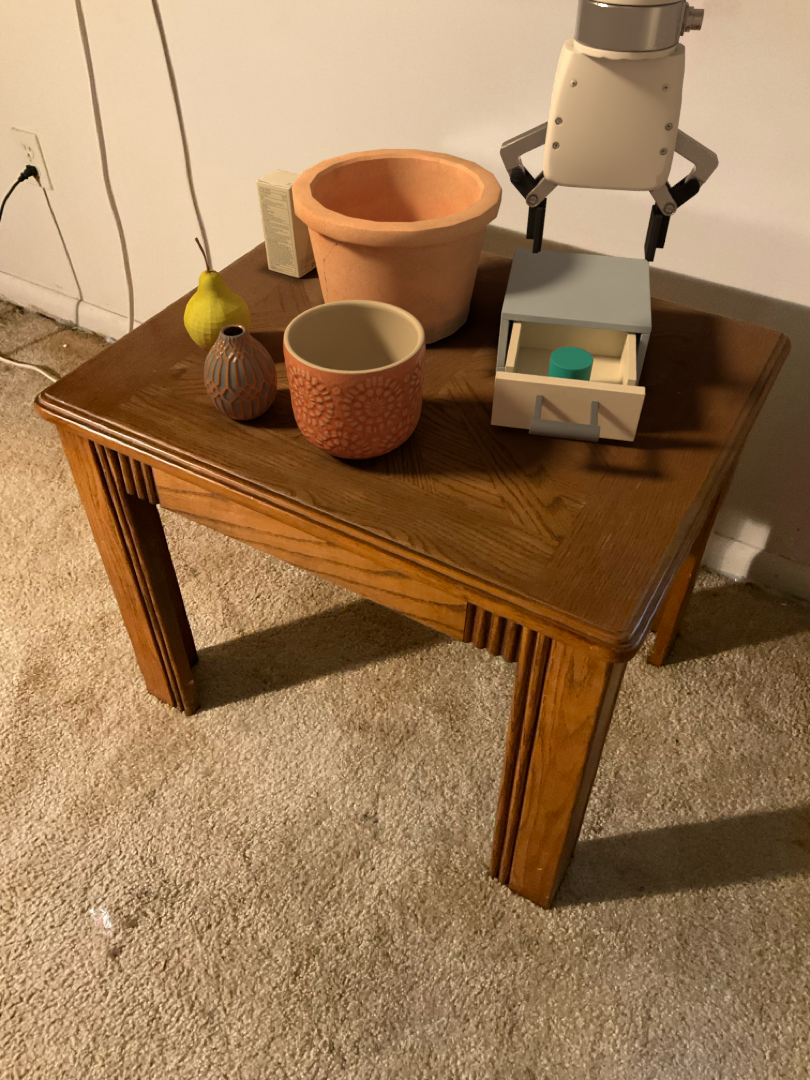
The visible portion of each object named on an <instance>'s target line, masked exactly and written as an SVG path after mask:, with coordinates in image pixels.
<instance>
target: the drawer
mask: <svg viewBox="0 0 810 1080" xmlns="http://www.w3.org/2000/svg"><path fill="white" fill-rule="evenodd" d="M562 347H576V348H581V349H583V350H586V351H587V352H589V353H590V354H591V355H592V357H593V366H592V371H591V376H590V381H584V380H574V379H565V378H556V377H548V372H549V365H550V358H551V354H552V353H553V351H555V350H556V349H558V348H562ZM636 381H637V374H636V332H626V331H616V330H606V329H596V328H586V327H576V326H566V325H556V324H546V323H536V322H526V321H516V320H514V324H513V330H512V335H511V340H510V345H509V350H508V356H507V361H506V366H505V372H501V371H497V372H496V371H495V377H494V385H493V398H492V407H491V419H490V425H491V426H497V427H499V426H500V427H506V428H507V427H508V428H516V429H522V430H523V429H524V430H529V431H528V434H529V435H535V436H543V437H550V438H560V439H569V440H576V441H585V442H593V443H598V442H599V440H600V438H601V439H608V440H618V441H626V442H634V441H635V437H636V433H637V430H638V425H639V421H640V419H641V418H640V417H641V413H642V409H643V405H644V403H645V402H644V401H645V397H646V387H645V386H639V385H638V386H635V385H636Z"/></svg>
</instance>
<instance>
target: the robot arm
mask: <svg viewBox="0 0 810 1080" xmlns="http://www.w3.org/2000/svg"><path fill="white" fill-rule="evenodd" d="M704 16H705V8H695V6H692V5H690V3H689V1H687V0H578V1H577V10H576V17H575V27H574V36H573V37H570V38H567V39H566V40H565V41H563V45H562V48H561V51H560V53H559V54H560V55H559V58H558V62H557V65H556V70H555V74H554V75H555V76H554V79H553V80H554V81H553V85H552V91H551V98H550V105H549V110H548V115H547V116H548V117H547V121H545V122H543V123H541V124H539V125H536V126H535V127H533V128H531V129H528V130H526V131H524V132H522V133H520V134H518V135H515V136H514V137H511V138H510V139H507V140H505V141H504V142H502V143H501V146H500V148H499V149H500V150H499V156H500V159H501V160H502V163H503V165H504V168H505V170H506V172H507V174H508V176H509V181H510V184H512V185H513V187H514V188H515V189H516V190H517V192H518V193H519V194H520V195H521V196H522V198H523V199H524V200H525V203H526V205H527V206H528V210H527V211H528V213H527V223H526V234H525V240H532V241H533V242H532V249H533V250H532V253H537V254H538V252H541V250H542V244H543V239H544V231H545V230H544V228H545V222H546V221H545V220H546V213H547V204H548V203H547V202H548V196H549V195H550V194H551V193H552V192H553V191H554V190H555V189H556V188H557V187H558V186H559V187H566V188H579V189H593V190H607V191H608V190H609V191H610V190H611V191H628V192H648V193H649V194H650V196H651V197H652V199H653V201H654V204H652V205H651V210H650V214H649V220H648V225H647V230H646V234H645V238H644V239H645V240H644V245H643V251H644V254H643V255H644V259H645V260H647V262H649V263H654V261H655V257H656V252H657V249H661V250H662V249H664V247H665V244H666V240H667V235H668V230H669V225H670V222H671V217H672V216H673V215H675V214H676V212H677V210H678V209H679V208H680V207H682V206H683V205H684V204H685V203H687V202H688V201H689V200H691V199H692V198H694V196H696V195H698V193H699V192H700V190H701V188H702V186H703V185H705V183H706V182H707V181H708V180H709V178H710V177H711V176H712V174H713V173H714V172H715V171H716V170H717V168H718V167H719V163H720V162H719V157H718V155H717V152H715V151H713V150H712V149H710V148H709V147H707V146H705V145H704V144H703V143H701V142H700V141H698V140H697V139H695V138H693V136H690V135H689V134H687V133H686V132H684V131H683V130H681V129H680V128H679V126H680V125H679V123H680V117H681V109H682V103H683V88H684V79H685V71H686V46H685V45H684V44H683V43H681V42H680V37H684V35H685V33H690V32H691V31H701V29H702V26H703V23H704ZM542 146H543V148H544V149H543V162H542V163H543V164H542V167H543V168H542V170H541V171H540V172H539V174H537V175H536V176H535V177H534V176H533V175H532V174H531V172H530V171H529V170H528V168H526V167H525V166H524V163H523V162H522V161H523V160H522V157H521V156H523V155H525V154H526V153H529V152H531V151H532V150H535V149H537V148H539V147H542ZM675 153H677V154H678V155H679V156H681V157H683V158H684V159H685V160H687V161H689V162H690V163H691V164H693V165H694V166H693V168H692V169H691V170H690V172H689V173H688V174H686V175H685V176H684V177H683V178H682V179H681V180H679V181H678V182H676V183H675V184H674V185H673V186H672V185H671V184H670V182H669V178H670V174H671V170H672V166H673V161H674V156H675Z"/></svg>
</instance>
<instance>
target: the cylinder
mask: <svg viewBox="0 0 810 1080" xmlns="http://www.w3.org/2000/svg"><path fill="white" fill-rule="evenodd" d="M592 366H593V357H592V355H591V354H590V353H589V352H587V351H586V350H583V349H581V348H576V347H562V348H558V349H556V350H555V351H553V353H552V354H551V358H550V365H549V372H548V377H556V378H565V379H574V380H584V381H590V376H591V371H592Z"/></svg>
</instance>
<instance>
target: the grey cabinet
mask: <svg viewBox="0 0 810 1080" xmlns="http://www.w3.org/2000/svg"><path fill="white" fill-rule="evenodd" d="M532 250H533V248H522V247H515V249H514V252H513V257H512V262H511V267H510V271H509V277H508V281H507V286H506V290H505V295H504V300H503V303H502V309H501V313H500V314H501V315H500V326H499V334H498V335H499V336H498V345H497V356H496V366H495V373H496V372H497V371H501V372H505V366H506V361H507V356H508V350H509V345H510V340H511V335H512V330H513V324H514V320H516V321H526V322H536V323H546V324H556V325H566V326H576V327H586V328H596V329H606V330H616V331H626V332H636V374H637V381H636V385H635V386H639V382H640V379H641V373H642V370H643V365H644V361H645V358H646V353H647V350H648V345H649V341H650V338H651V337H650V336H651V333H652V329H653V327H652V326H653V324H652V320H653V319H652V305H651V304H652V301H651V299H652V298H651V279H650V278H651V275H650V262H647V260H645V258H635V257H625V256H615V255H614V256H613V255H603V254H602V255H600V254H589V253H578V252H569V251H568V252H567V251H557V250H556V251H555V250H547V249H541V252H538V254H537V253H532Z"/></svg>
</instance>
